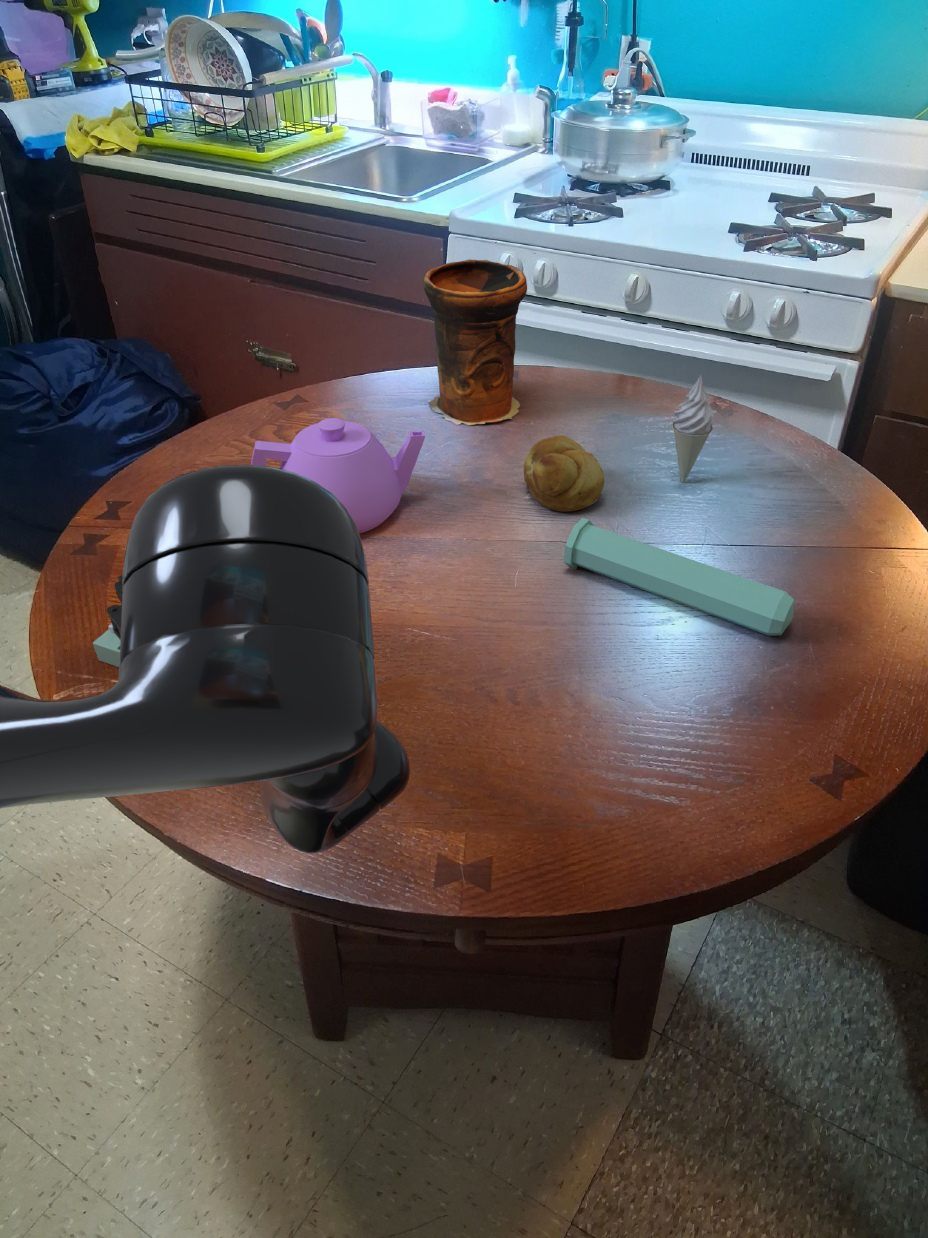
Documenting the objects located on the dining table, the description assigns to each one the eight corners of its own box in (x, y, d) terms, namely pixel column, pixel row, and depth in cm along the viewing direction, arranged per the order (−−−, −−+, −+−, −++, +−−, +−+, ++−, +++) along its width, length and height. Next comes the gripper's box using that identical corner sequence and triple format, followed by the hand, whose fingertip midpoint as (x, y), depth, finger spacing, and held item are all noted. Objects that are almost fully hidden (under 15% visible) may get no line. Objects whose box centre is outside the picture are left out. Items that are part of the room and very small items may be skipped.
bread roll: (511, 472, 118) (513, 417, 113) (580, 464, 119) (585, 410, 114) (537, 523, 108) (540, 465, 103) (611, 514, 110) (618, 457, 105)
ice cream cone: (656, 483, 115) (672, 375, 106) (675, 468, 118) (693, 362, 109) (690, 496, 113) (710, 386, 103) (709, 480, 116) (730, 373, 106)
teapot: (254, 553, 104) (236, 463, 96) (253, 486, 115) (238, 402, 108) (437, 532, 107) (434, 444, 99) (418, 470, 118) (414, 386, 111)
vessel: (451, 438, 126) (448, 297, 113) (413, 398, 136) (407, 266, 123) (539, 418, 130) (546, 281, 118) (496, 382, 140) (499, 252, 128)
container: (806, 581, 88) (585, 507, 99) (784, 627, 86) (560, 547, 96) (799, 611, 93) (589, 538, 104) (778, 656, 91) (566, 576, 101)
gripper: (310, 592, 74) (230, 509, 84) (145, 658, 67) (80, 560, 78) (320, 658, 78) (243, 572, 89) (167, 726, 72) (103, 625, 82)
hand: (167, 567), depth 83 cm, fingers open, 8 cm apart
